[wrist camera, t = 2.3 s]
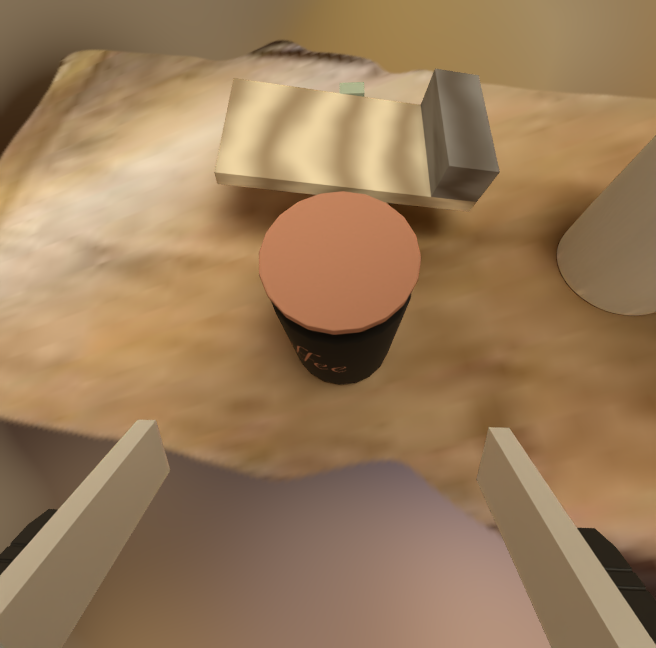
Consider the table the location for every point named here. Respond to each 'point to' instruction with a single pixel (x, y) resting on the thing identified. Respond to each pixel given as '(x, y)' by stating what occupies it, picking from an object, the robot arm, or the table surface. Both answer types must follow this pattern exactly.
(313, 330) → the coffee jar
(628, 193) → the utensil holder
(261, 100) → the seesaw plank
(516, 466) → the robot arm
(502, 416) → the table surface
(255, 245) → the table surface
